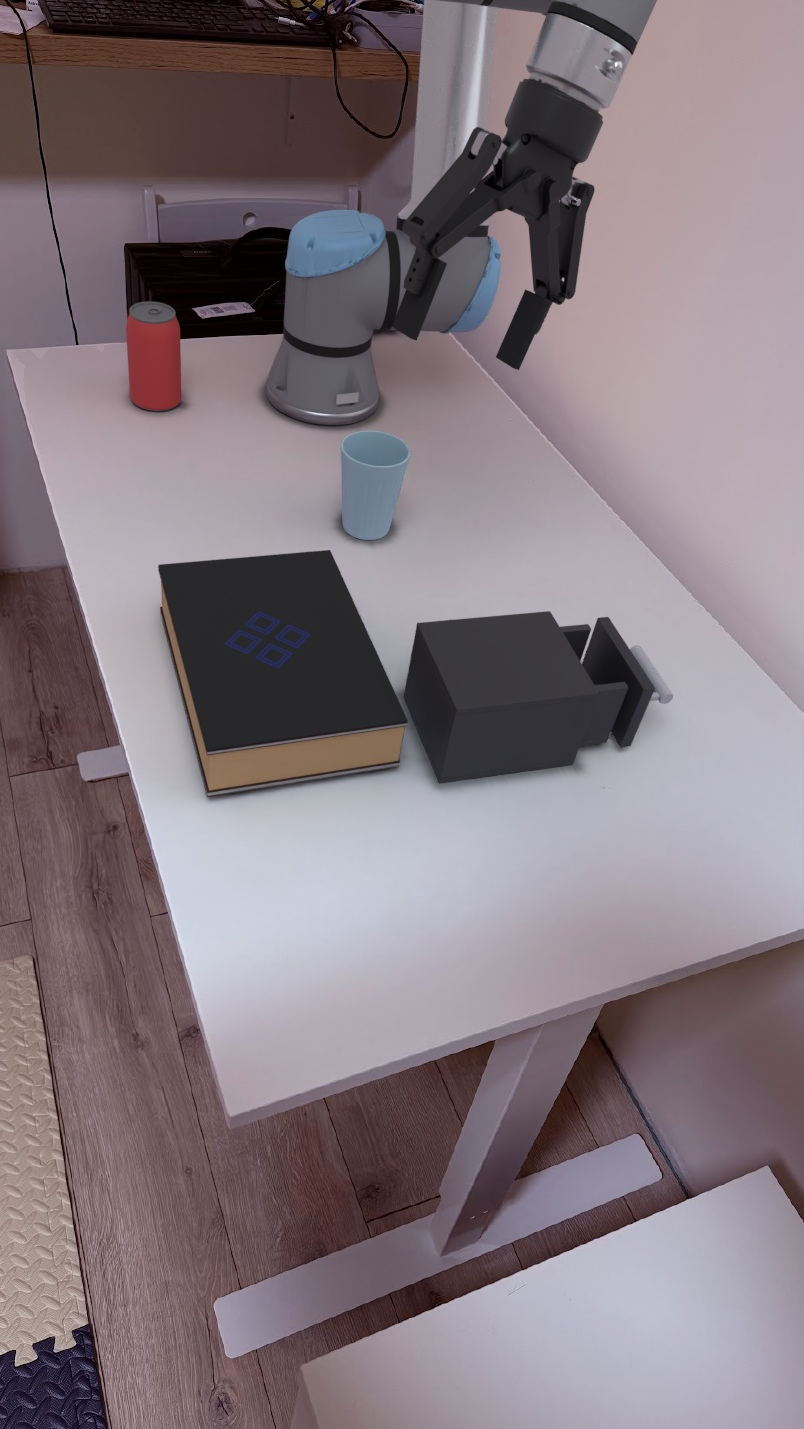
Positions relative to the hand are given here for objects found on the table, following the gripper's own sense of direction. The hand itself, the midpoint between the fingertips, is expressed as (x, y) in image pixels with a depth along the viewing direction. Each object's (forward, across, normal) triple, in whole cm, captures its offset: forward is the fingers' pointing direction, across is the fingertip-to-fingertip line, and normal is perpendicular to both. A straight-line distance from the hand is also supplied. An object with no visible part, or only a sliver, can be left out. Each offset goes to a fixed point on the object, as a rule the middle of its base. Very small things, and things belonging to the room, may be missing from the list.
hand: (458, 349), depth 91 cm
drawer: (+26, +12, -22) cm, 36 cm away
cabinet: (+29, +4, -19) cm, 35 cm away
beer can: (+26, +2, +50) cm, 56 cm away
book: (+34, -10, -5) cm, 36 cm away
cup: (+25, +12, +14) cm, 31 cm away
